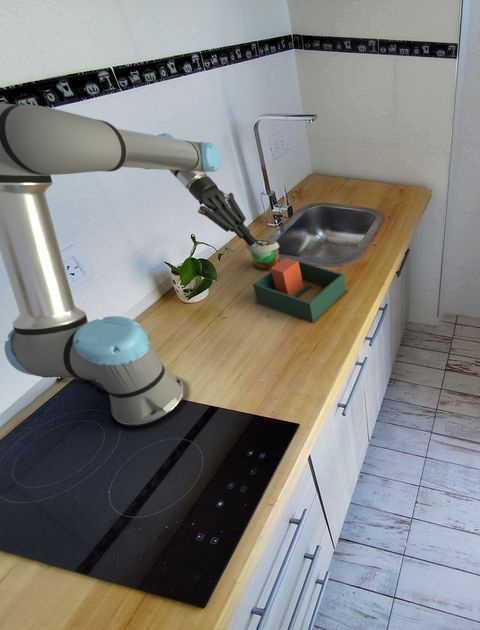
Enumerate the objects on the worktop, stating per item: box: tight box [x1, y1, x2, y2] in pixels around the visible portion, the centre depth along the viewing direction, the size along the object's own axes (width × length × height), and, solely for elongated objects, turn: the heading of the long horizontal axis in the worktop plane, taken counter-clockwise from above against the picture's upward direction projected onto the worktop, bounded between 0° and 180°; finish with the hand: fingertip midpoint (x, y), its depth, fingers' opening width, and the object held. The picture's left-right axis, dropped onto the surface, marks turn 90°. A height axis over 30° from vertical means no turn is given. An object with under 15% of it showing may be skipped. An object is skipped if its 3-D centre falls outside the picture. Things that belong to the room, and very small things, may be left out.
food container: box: [245, 239, 281, 271], centre depth 141 cm, size 12×6×10 cm, turn 73°
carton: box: [270, 257, 305, 296], centre depth 129 cm, size 5×8×11 cm, turn 155°
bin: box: [252, 257, 347, 323], centre depth 128 cm, size 22×18×7 cm
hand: (253, 243), depth 126 cm, fingers closed
